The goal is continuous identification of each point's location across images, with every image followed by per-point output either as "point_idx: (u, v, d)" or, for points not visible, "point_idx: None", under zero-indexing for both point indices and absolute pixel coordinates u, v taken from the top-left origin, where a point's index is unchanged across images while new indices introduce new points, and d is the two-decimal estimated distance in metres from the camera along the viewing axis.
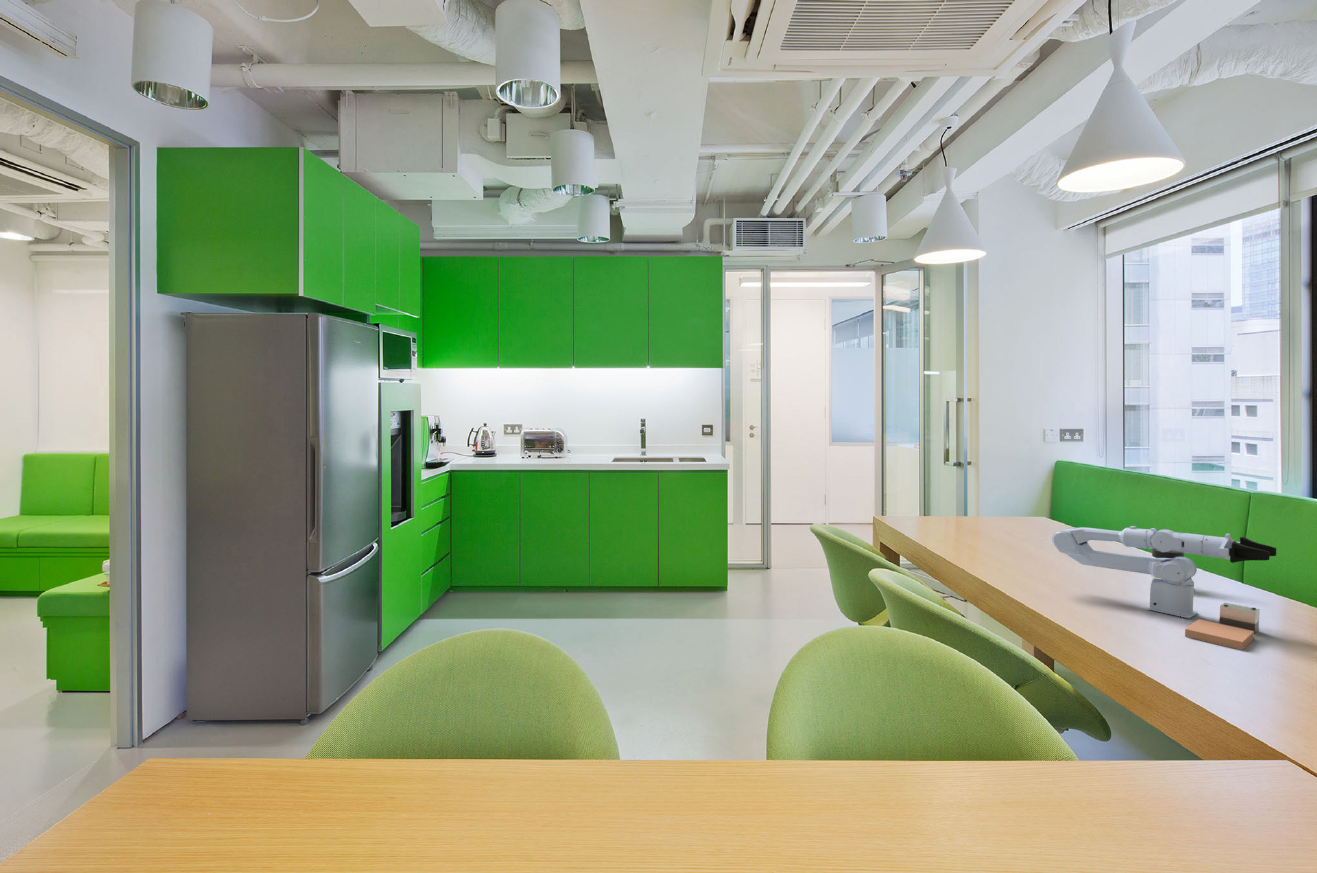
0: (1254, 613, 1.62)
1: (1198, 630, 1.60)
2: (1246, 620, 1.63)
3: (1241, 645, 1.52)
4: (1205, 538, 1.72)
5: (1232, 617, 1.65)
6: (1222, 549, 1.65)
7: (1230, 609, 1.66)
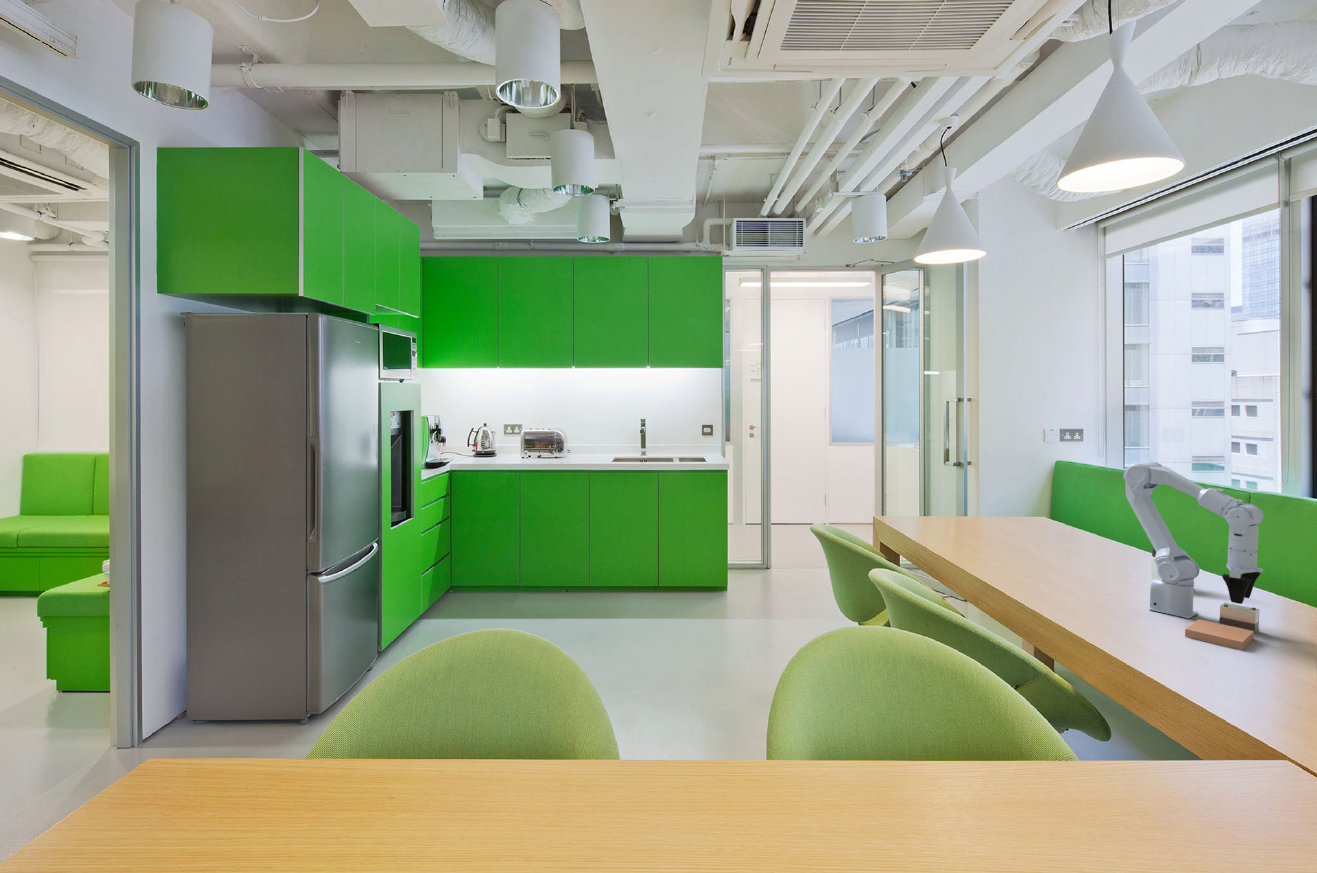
0: (1254, 613, 1.62)
1: (1198, 630, 1.60)
2: (1246, 620, 1.63)
3: (1241, 645, 1.52)
4: (1252, 553, 1.62)
5: (1232, 617, 1.65)
6: (1238, 573, 1.60)
7: (1230, 609, 1.66)
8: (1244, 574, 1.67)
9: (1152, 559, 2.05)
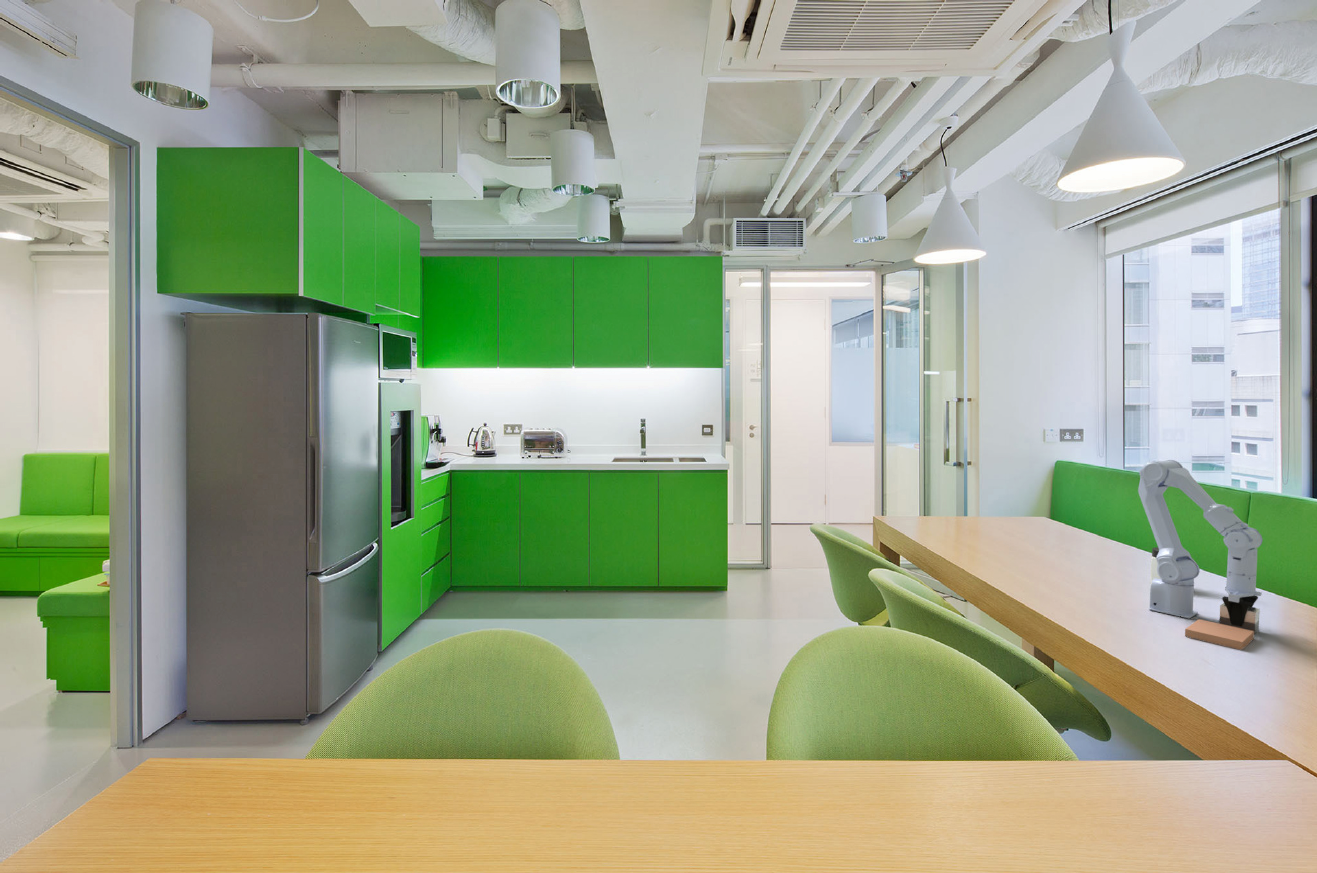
0: (1254, 613, 1.62)
1: (1198, 630, 1.60)
2: (1246, 620, 1.63)
3: (1241, 645, 1.52)
4: (1251, 577, 1.62)
5: None
6: (1236, 597, 1.61)
7: None
8: (1242, 598, 1.67)
9: (1152, 559, 2.05)
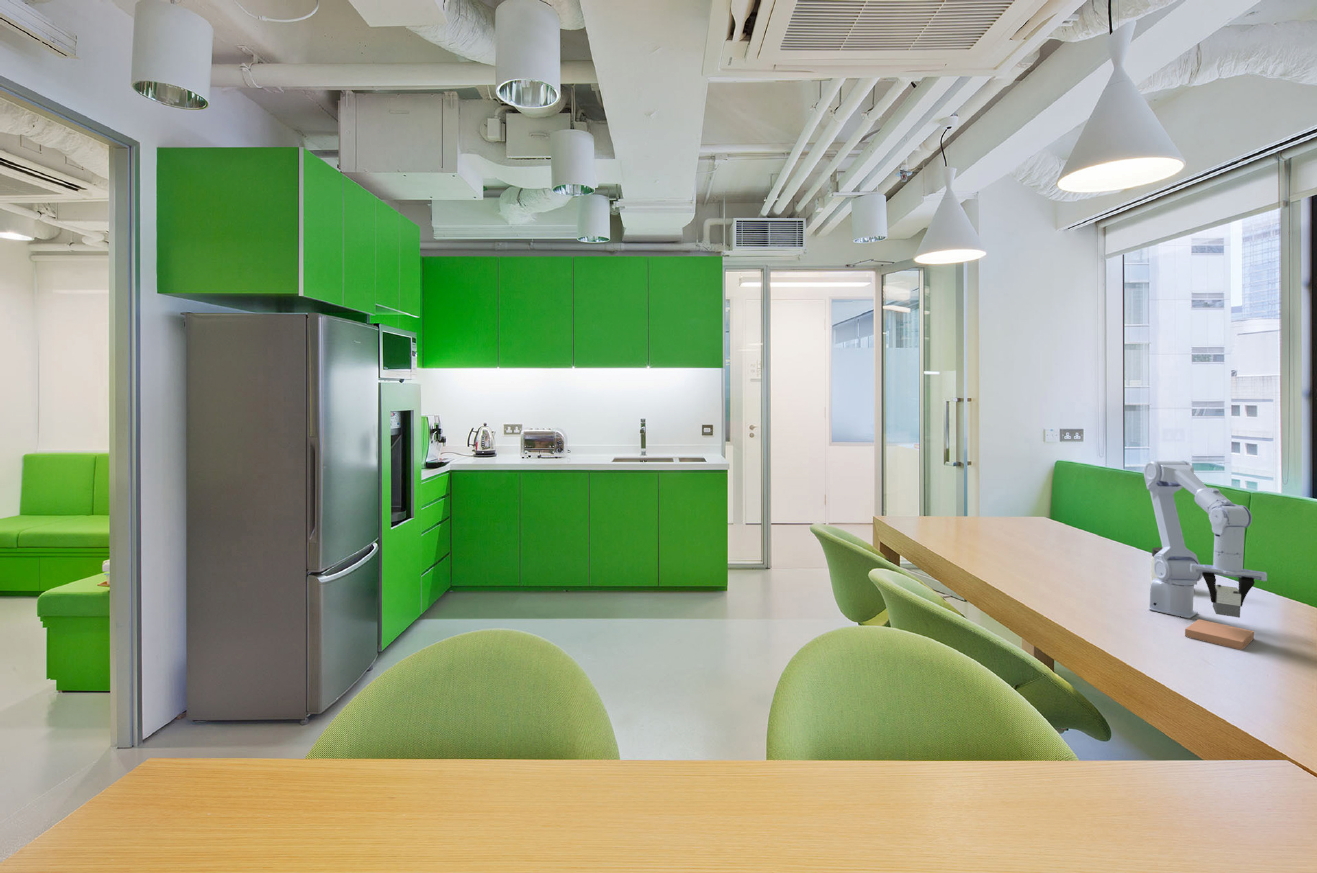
0: (1217, 591, 1.59)
1: (1198, 630, 1.60)
2: (1215, 599, 1.61)
3: (1241, 645, 1.52)
4: (1220, 554, 1.59)
5: None
6: (1191, 567, 1.64)
7: None
8: (1240, 581, 1.59)
9: (1152, 559, 2.05)
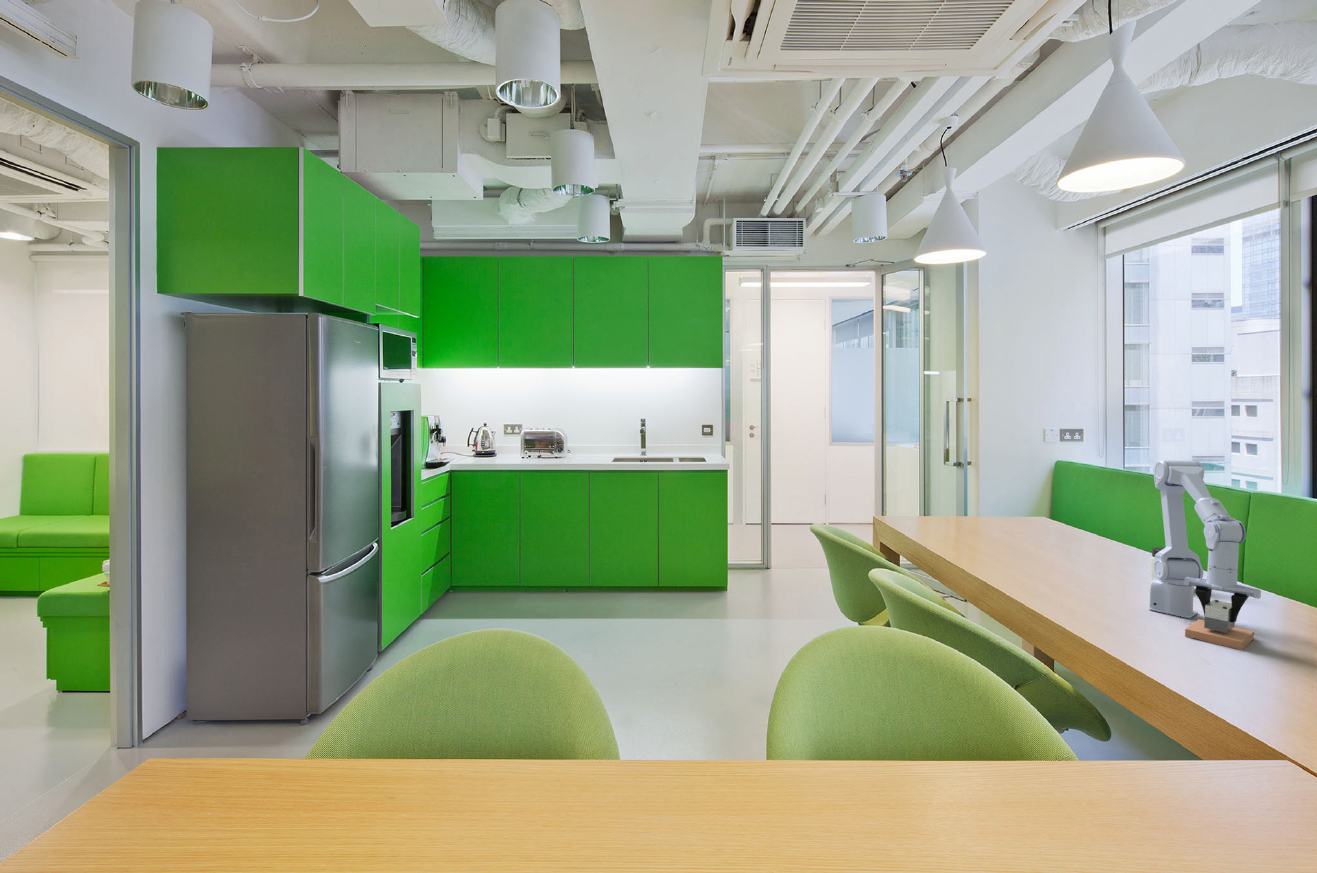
0: (1205, 605, 1.59)
1: (1198, 630, 1.60)
2: None
3: (1241, 645, 1.52)
4: (1211, 568, 1.59)
5: None
6: (1184, 580, 1.65)
7: None
8: None
9: (1152, 559, 2.05)
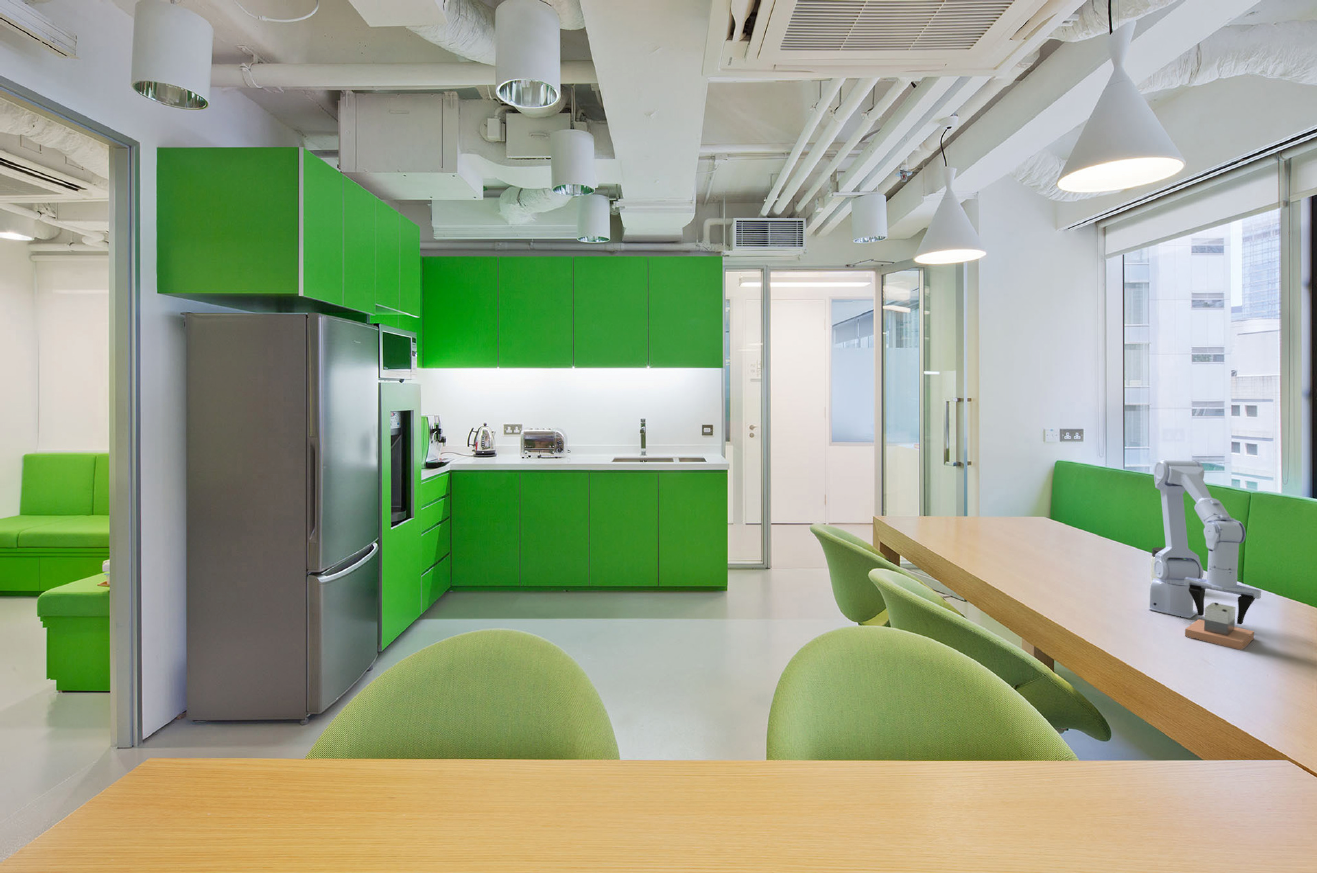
0: (1205, 608, 1.59)
1: (1198, 630, 1.60)
2: None
3: (1241, 645, 1.52)
4: (1211, 568, 1.59)
5: None
6: (1184, 580, 1.65)
7: None
8: None
9: (1152, 559, 2.05)
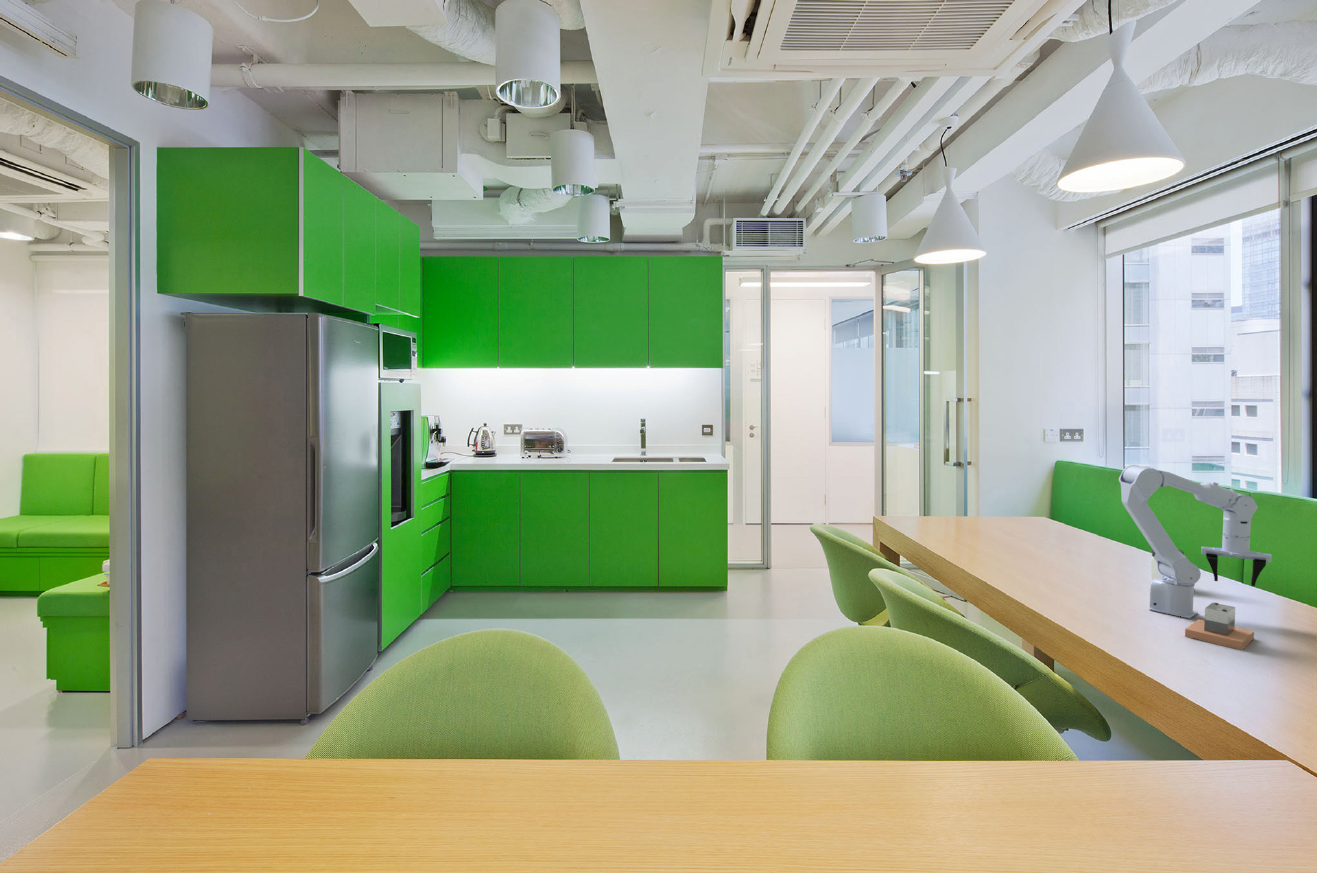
0: (1205, 608, 1.59)
1: (1198, 630, 1.60)
2: None
3: (1241, 645, 1.52)
4: (1228, 537, 1.74)
5: None
6: (1201, 549, 1.80)
7: None
8: (1253, 563, 1.73)
9: (1152, 559, 2.05)
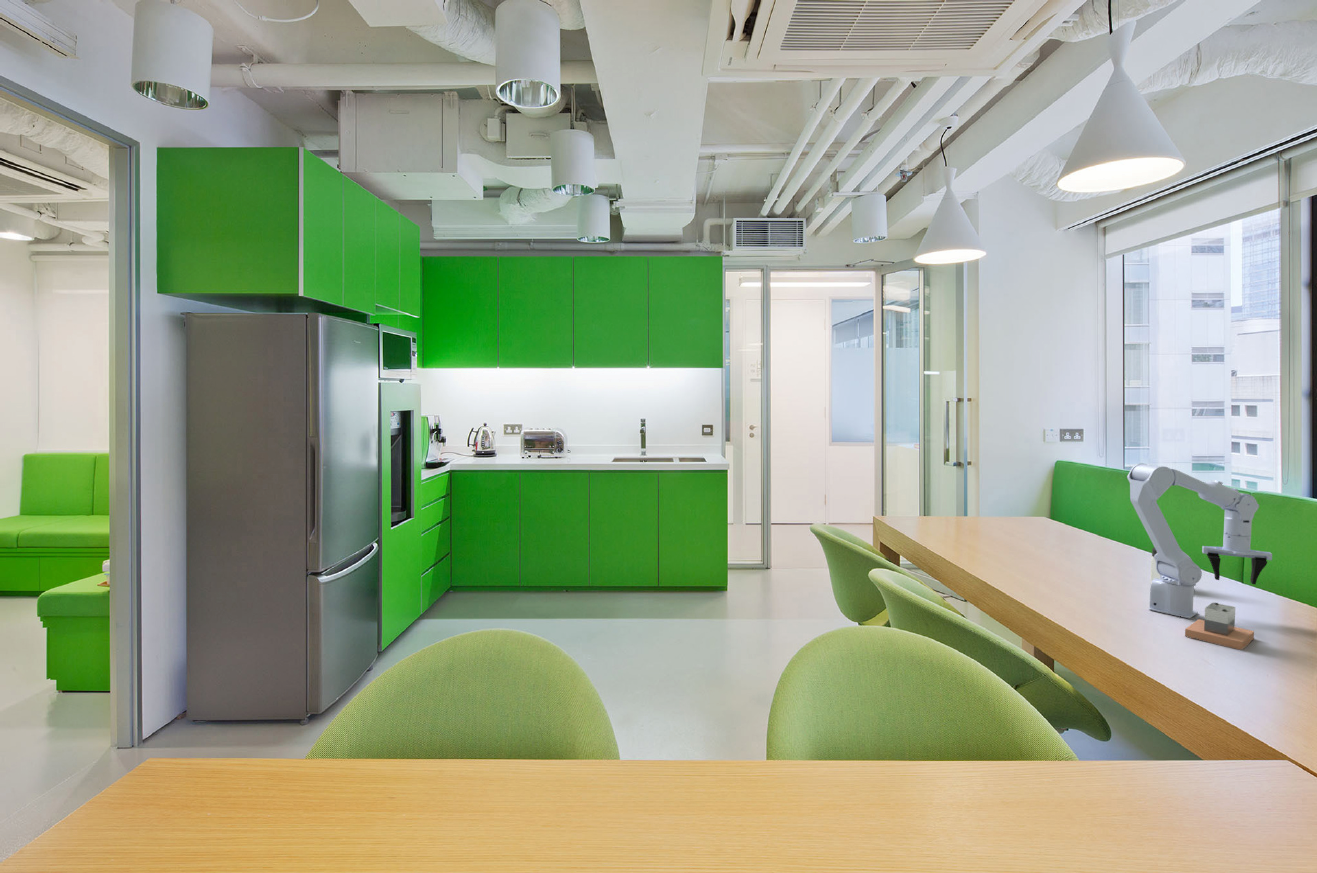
0: (1205, 608, 1.59)
1: (1198, 630, 1.60)
2: None
3: (1241, 645, 1.52)
4: (1230, 536, 1.76)
5: None
6: (1203, 549, 1.81)
7: None
8: (1253, 561, 1.75)
9: (1152, 559, 2.05)
